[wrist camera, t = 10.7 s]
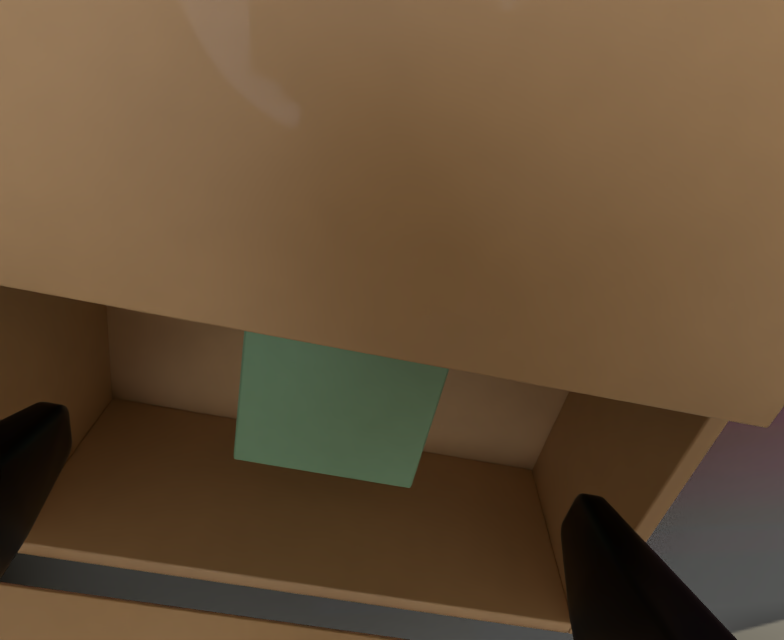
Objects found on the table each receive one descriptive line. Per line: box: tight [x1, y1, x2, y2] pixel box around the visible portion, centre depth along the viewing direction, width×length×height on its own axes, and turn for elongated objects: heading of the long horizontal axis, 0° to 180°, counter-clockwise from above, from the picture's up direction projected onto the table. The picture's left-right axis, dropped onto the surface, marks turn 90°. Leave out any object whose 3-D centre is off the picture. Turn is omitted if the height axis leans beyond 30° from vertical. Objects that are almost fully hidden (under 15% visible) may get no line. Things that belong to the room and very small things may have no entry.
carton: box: [0, 0, 784, 634], centre depth 11 cm, size 15×14×6 cm
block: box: [233, 331, 449, 488], centre depth 13 cm, size 4×4×4 cm
